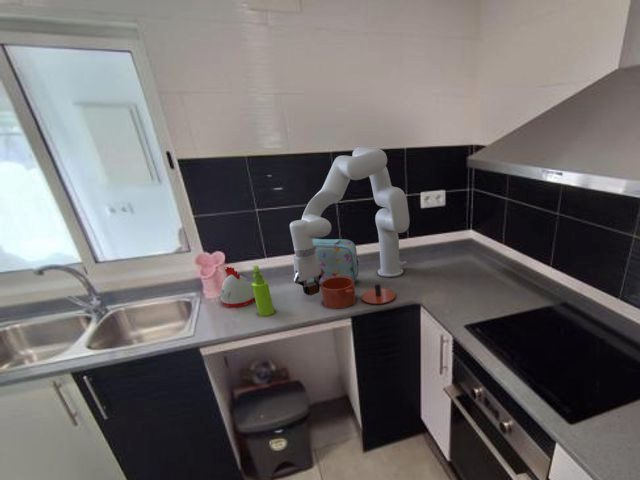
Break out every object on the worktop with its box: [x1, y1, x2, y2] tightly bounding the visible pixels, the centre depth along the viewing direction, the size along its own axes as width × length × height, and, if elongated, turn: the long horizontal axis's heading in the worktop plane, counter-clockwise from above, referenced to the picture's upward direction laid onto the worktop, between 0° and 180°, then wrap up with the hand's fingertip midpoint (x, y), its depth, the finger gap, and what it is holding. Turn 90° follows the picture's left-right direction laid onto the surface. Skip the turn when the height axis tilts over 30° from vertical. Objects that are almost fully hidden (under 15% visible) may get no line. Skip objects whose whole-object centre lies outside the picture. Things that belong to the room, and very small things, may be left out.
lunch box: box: [307, 238, 361, 286], centre depth 175 cm, size 27×10×21 cm, turn 84°
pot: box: [320, 277, 357, 310], centre depth 160 cm, size 14×19×8 cm
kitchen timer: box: [219, 266, 256, 308], centre depth 161 cm, size 14×14×15 cm
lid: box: [361, 282, 396, 305], centre depth 164 cm, size 15×15×7 cm
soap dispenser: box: [252, 265, 275, 317], centre depth 149 cm, size 6×7×20 cm
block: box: [307, 282, 320, 296], centre depth 161 cm, size 4×4×4 cm
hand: (312, 292), depth 162 cm, fingers closed on block, 4 cm apart
